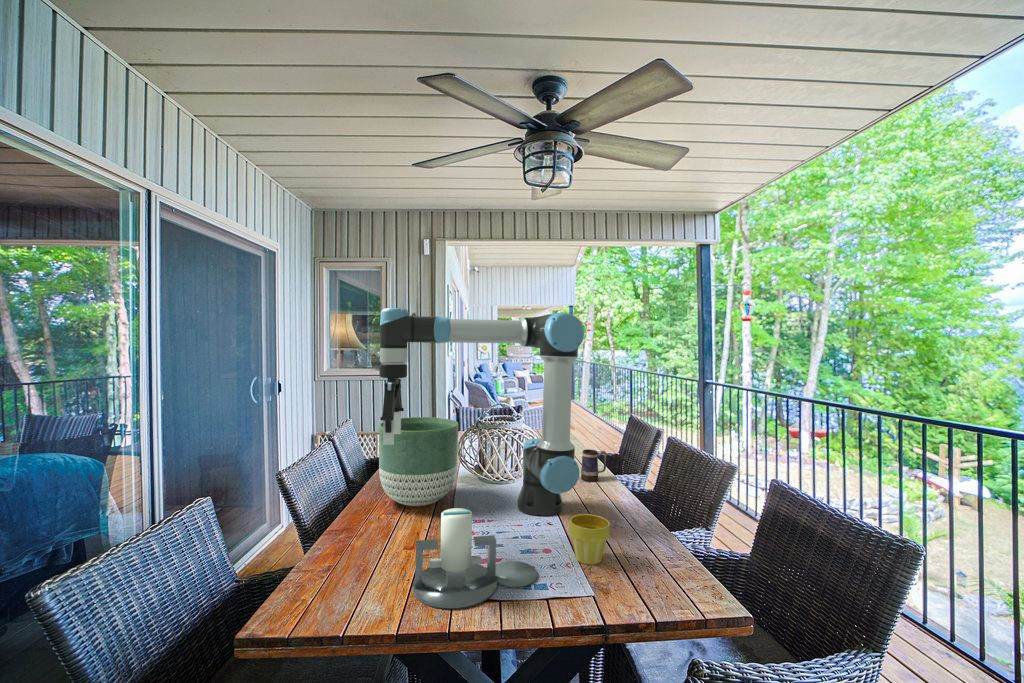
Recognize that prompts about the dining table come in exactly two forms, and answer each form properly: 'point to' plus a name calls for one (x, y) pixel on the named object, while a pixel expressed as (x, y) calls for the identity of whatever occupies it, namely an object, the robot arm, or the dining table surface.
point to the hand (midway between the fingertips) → (392, 439)
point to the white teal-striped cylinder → (456, 541)
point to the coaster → (515, 574)
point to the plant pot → (589, 537)
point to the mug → (591, 465)
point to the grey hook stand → (455, 579)
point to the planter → (419, 460)
